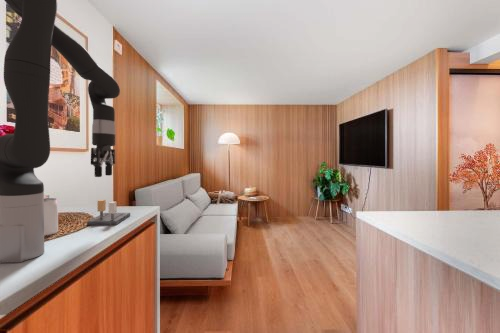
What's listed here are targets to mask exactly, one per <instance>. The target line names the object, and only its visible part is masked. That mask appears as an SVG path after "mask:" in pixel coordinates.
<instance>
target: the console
mask: <svg viewBox="0 0 500 333" xmlns="http://www.w3.org/2000/svg"><path fill="white" fill-rule="evenodd" d="M129 217H131V212H116V213H114V219H111V214H109V212H103V216H102V217H100V214H99V215H97V216H95V217H94V218H91V219H90V220H87V221H86V226H117V225H118V224H120V223H122V222H123V221H125V220H127V219H128V218H129Z"/></svg>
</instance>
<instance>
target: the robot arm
mask: <svg viewBox="0 0 500 333" xmlns="http://www.w3.org/2000/svg"><path fill="white" fill-rule="evenodd" d="M4 2H5V3H6V4H7V6H8V7H9V8H10V9H11V10H12V11H13V12H14V13H16V15H17V16H18V17H20V18H21V21H20V24H19V27H18V29H17V31H16V33H15V34H14V36H13V37H12V39H11V41H10V43H9V45H8V47H7V49H6V50H5V53H4V54H5V55H4V62H3V83H4V86H5V89H6V91H7V93H8V96H9V99H10V100H11V103H12V104H13V105H12V106H13V108H14V113H15V115H14V116H15V122H14V132H13V133H7V134H3V135H0V264H2V263H5V264H6V263H22V262H25V261H28V260H32V259H34V258H37V257H39V256H42V255H43V254H44V252H45V236H44V199H45V193H44V192H45V185H44V182H43V181H41V180H40V179H39V178H38V177H37V175H36V174H35V170H34V169H37V168H41V167H42V166H43V165H44V164H46V162H48V160H49V158H50V154H51V140H50V127H49V103H50V101H49V98H50V85H51V84H50V82H51V57H52V47H53V48H54V49H55V50H56V51H58V53H59V54H60V55H61V56H62V57H63V58H64V59H65V60H66V61H67V63H69V65H70V66H71V67H72V69H73V70H74V71H75V72H76V73H77V74H78V76H80V77H81V78H82V79H84V80H87V81H90V82H89V83H88V86H87V92H88V96H89V99H90V104H91V106H92V129H91V140H92V141H91V144H92V145H93V146H96V147H91V149H90V165H91V166H93V167H94V177H95V178H101V177H103V164H105V168H104V169H105V170H104V171H105V172H104V174H105V176H113V166H114V165H115V164H116V149H113V148H112V147H115V146H116V124H115V120H116V116H115V113H116V112H115V108H114V106H112V105H110V104H107V103H106V102H107V101H106V100H108V99H109V100H110V99H116V98H118V97H119V96H120V94H121V90H120V86H119V83H118V82H117V80H116V79H115V78H113V76H112V75H110V74H109V73H108V72H106V71H105V70H104V69H103V68H102V67H101V66H99V64H98V63H97V62H96V60H95V59H94V58H93V57H92V55H91V54H90V53H89V51H88V50H87V49H86V48H85V47H84V46H83V45H82V44H81V43H79V42H78V41H77V40H76V39H74V38H73V37H71V36H70V35H69V34H68V33H66V32H64V31H63V30H62V29H61V28H60V27H58V25H56V24H55V22H56V18H57V11H58V0H4Z"/></svg>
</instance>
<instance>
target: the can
mask: <svg viewBox="0 0 500 333" xmlns="http://www.w3.org/2000/svg"><path fill="white" fill-rule="evenodd" d="M58 232H59V203H58V202H57V198H54V197H53V198H52V197H51V198H50V197H49V198H44V237H47V236H46V235H48V236H53V235H55V234H57V233H58ZM52 234H53V235H52Z"/></svg>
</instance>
